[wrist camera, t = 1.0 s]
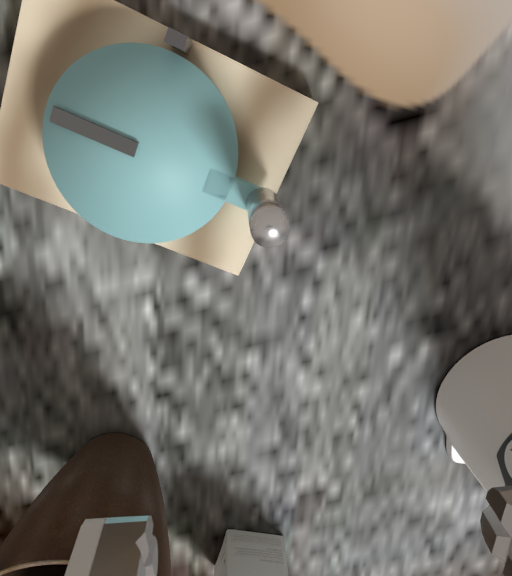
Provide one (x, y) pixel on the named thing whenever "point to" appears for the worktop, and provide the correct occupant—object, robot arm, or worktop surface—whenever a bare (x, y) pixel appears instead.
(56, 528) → the plant pot
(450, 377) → the robot arm
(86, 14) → the dial base
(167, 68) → the dial
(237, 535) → the supplement box
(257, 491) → the worktop surface
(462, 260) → the worktop surface
